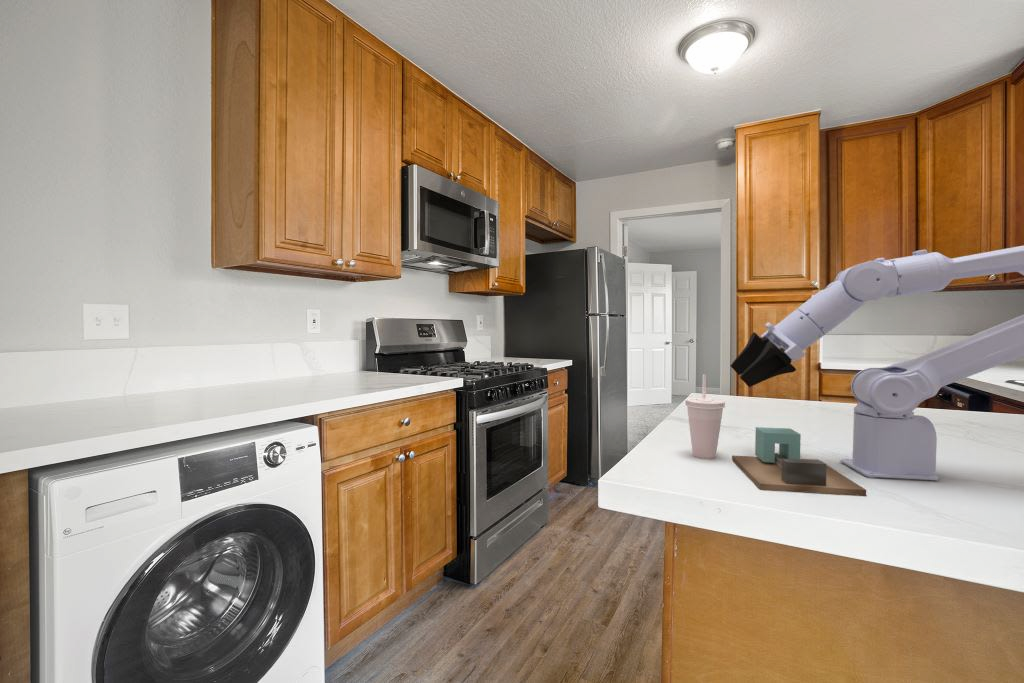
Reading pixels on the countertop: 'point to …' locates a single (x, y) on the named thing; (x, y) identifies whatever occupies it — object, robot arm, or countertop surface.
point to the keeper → (781, 436)
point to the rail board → (775, 474)
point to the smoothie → (704, 423)
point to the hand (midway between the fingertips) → (739, 376)
